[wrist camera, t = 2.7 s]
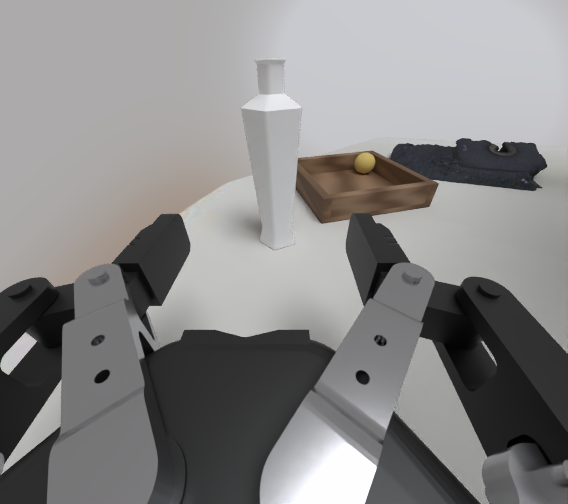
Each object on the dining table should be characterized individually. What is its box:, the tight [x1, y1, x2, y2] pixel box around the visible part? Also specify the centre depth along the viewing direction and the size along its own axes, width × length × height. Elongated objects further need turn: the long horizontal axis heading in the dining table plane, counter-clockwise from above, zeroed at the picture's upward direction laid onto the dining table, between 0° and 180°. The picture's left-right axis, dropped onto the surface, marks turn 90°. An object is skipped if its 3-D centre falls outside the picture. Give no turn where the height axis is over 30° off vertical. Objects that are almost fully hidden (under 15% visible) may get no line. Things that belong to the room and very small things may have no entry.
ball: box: [354, 153, 375, 174], centre depth 37 cm, size 3×3×3 cm
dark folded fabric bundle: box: [391, 138, 547, 191], centre depth 40 cm, size 15×22×5 cm
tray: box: [295, 151, 439, 223], centre depth 33 cm, size 15×15×3 cm
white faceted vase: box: [241, 59, 302, 250], centre depth 21 cm, size 5×4×15 cm
